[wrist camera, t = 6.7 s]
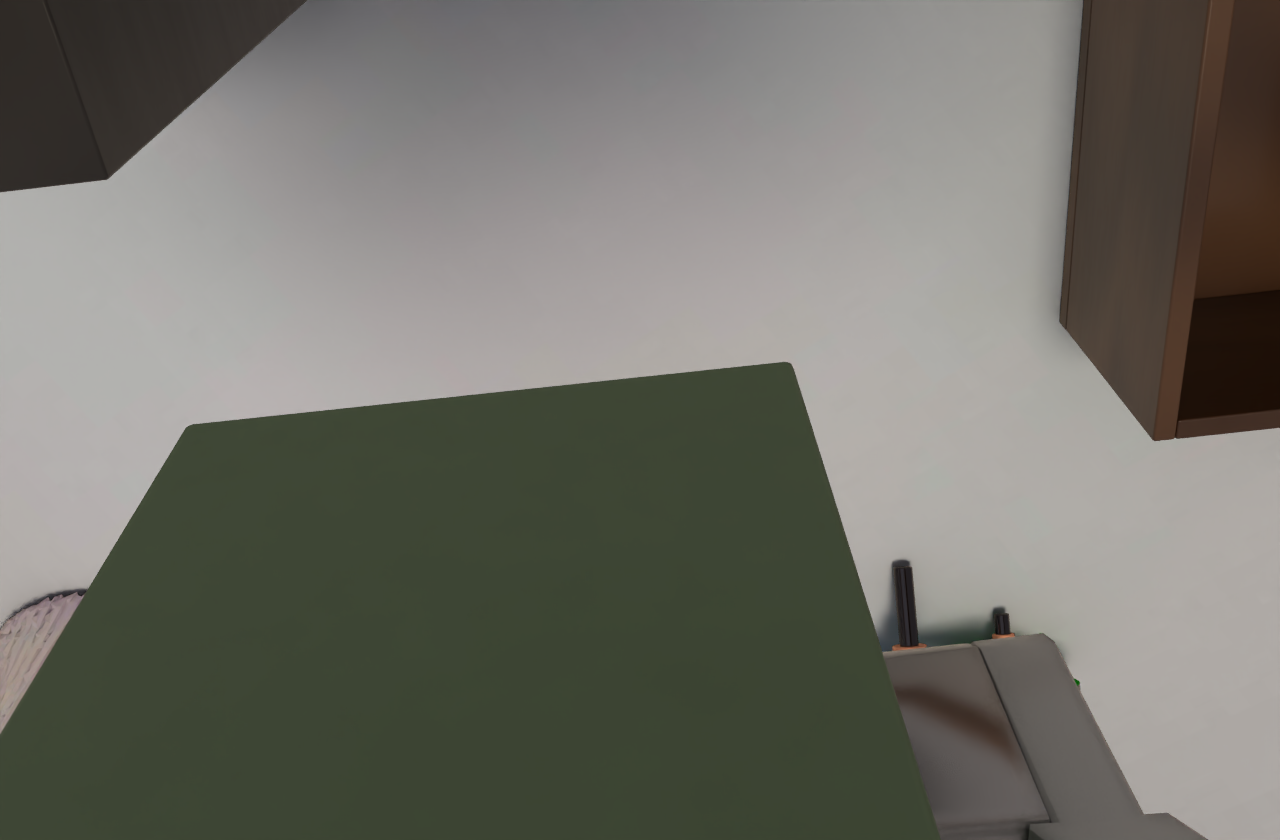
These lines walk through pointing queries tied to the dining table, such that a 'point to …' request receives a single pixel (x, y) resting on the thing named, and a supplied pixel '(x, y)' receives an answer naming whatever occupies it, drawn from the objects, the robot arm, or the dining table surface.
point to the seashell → (29, 647)
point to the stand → (110, 77)
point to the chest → (1178, 211)
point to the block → (478, 633)
